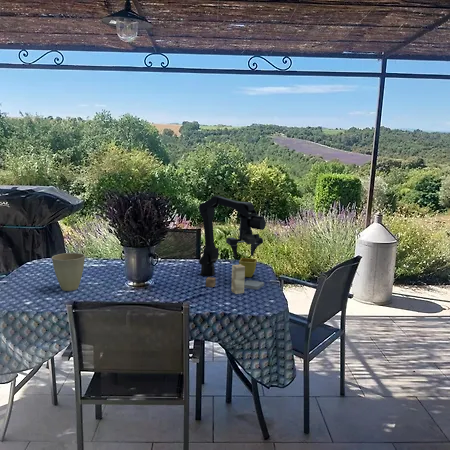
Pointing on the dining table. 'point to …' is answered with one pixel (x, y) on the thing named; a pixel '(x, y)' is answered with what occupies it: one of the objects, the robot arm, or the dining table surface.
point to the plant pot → (69, 269)
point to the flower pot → (248, 266)
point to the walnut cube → (210, 282)
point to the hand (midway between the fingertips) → (243, 257)
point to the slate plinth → (253, 284)
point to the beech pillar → (238, 279)
